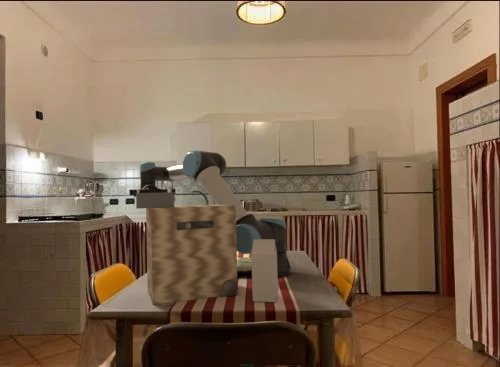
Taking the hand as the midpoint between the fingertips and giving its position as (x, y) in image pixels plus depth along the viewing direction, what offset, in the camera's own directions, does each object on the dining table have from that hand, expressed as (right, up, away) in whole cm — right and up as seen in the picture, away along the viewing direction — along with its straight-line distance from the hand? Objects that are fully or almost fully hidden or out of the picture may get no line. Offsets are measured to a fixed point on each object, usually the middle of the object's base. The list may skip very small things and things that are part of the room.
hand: (154, 191), depth 160 cm
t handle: (+5, -5, -24) cm, 25 cm away
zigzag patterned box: (+21, -34, -32) cm, 51 cm away
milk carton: (+46, -34, -42) cm, 71 cm away
